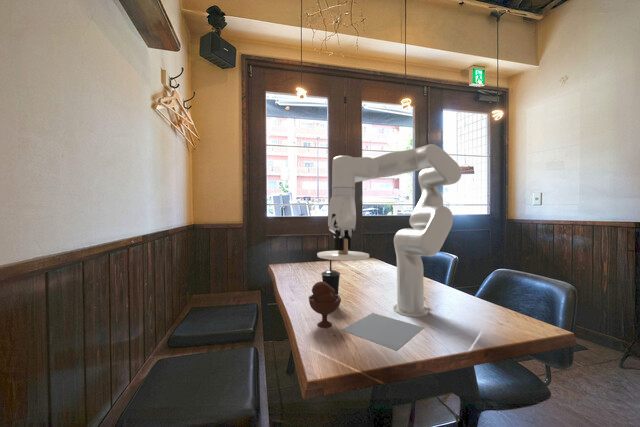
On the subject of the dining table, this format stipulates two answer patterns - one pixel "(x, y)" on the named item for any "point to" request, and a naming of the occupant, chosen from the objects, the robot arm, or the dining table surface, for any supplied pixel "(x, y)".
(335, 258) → the lid
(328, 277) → the drinking cup
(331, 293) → the ice cream bowl
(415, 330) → the mat
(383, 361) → the dining table surface
